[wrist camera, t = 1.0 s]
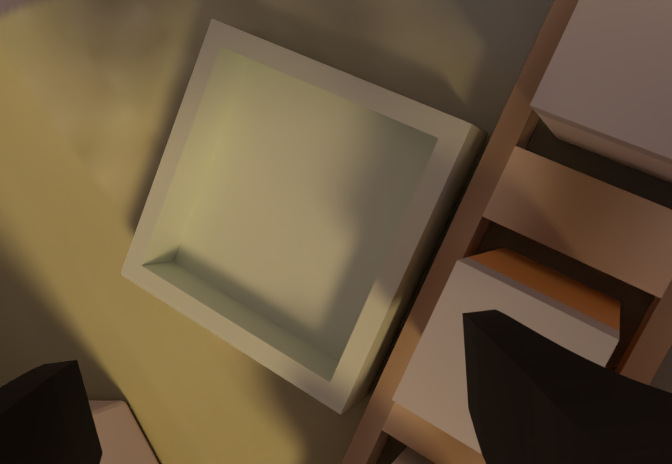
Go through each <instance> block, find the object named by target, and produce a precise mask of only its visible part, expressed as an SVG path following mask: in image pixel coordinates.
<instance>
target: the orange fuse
mask: <svg viewBox="0 0 672 464" xmlns="http://www.w3.org/2000/svg"><path fill="white" fill-rule="evenodd" d="M493 309H496V310H498V311H500V312H502V313H504V314H506V315H508V316H510V317H511V318H513V319H515V320H517V321H518V322H520V323H522V324H523V325H525V326H527V327H529V328H530V329H532V330H534V331H535V332H537V333H539V334H541V335H542V336H544V337H546V338H548V339H550V340H551V341H553V342H555V343H557V344H559V345H560V346H562V347H564V348H566V349H568V350H570V351H572V352H574V353H576V354H578V355H580V356H582V357H584V358H586V359H588V360H590V361H592V362H594V363H596V364H598V365H601V366H603V367H605V366H606V364H607V362H608V360H609V358H610V356H611V355H612V353H613V351H614V349H615V347H616V345H617V343H618V342H619V333H620V301H618V300H616V299H614V298H612V297H610V296H607V295H605V294H603V293H601V292H599V291H597V290H595V289H593V288H590V287H588V286H586V285H584V284H582V283H580V282H578V281H576V280H574V279H571V278H569V277H567V276H565V275H563V274H561V273H559V272H557V271H554V270H552V269H550V268H548V267H546V266H544V265H542V264H540V263H538V262H535V261H533V260H531V259H529V258H527V257H525V256H523V255H521V254H519V253H516V252H514V251H512V250H510V249H508V248H506V247H504V248H500V249H497V250H493V251H489V252H485V253H481V254H478V255H474V256H470V257H466V258H463V259H459V260H457V262H456V264H455V266H454V268H453V270H452V272H451V274H450V277H449V279H448V281H447V283H446V285H445V287H444V289H443V291H442V294H441V296H440V298H439V300H438V302H437V304H436V306H435V309H434V311H433V313H432V315H431V317H430V319H429V321H428V323H427V326H426V328H425V330H424V332H423V334H422V336H421V338H420V341H419V343H418V345H417V347H416V349H415V351H414V353H413V356H412V358H411V360H410V362H409V364H408V366H407V368H406V370H405V373H404V375H403V377H402V379H401V381H400V383H399V385H398V388H397V390H396V392H395V394H394V396H393V398H392V400H393V401H395V402H396V403H398V404H400V405H401V406H403V407H404V408H406V409H408V410H409V411H411V412H413V413H414V414H416V415H418V416H419V417H421V418H423V419H424V420H426V421H428V422H429V423H431V424H432V425H434V426H436V427H437V428H439V429H441V430H442V431H444V432H446V433H447V434H449V435H451V436H452V437H454V438H456V439H457V440H459V441H461V442H462V443H464V444H465V445H467V446H469V447H470V448H472V449H474V450H475V451H477V452H479V453H480V454H482V453H481V449H480V446H479V443H478V440H477V437H476V433H475V430H474V426H473V423H472V419H471V416H470V413H469V409H468V395H467V379H466V363H465V347H464V332H463V316H462V313H469V312H477V311H485V310H493Z"/></svg>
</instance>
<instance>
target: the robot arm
mask: <svg viewBox="0 0 672 464" xmlns="http://www.w3.org/2000/svg"><path fill="white" fill-rule="evenodd" d="M462 316H463V332H464V347H465V363H466V379H467V395H468V409H469V413H470V416H471V419H472V423H473V426H474V430H475V433H476V437H477V440H478V443H479V446H480V449H481V453H482V456H483V458H484V460H485V462H486V464H672V393H669V392H666V391H663V390H660V389H657V388H655V387H652V386H649V385H647V384H644V383H641V382H639V381H636V380H633V379H630V378H628V377H625V376H623V375H621V374H618V373H616V372H614V371H611V370H609V369H607V368H605V367H603V366H601V365H598V364H596V363H594V362H592V361H590V360H588V359H586V358H584V357H582V356H580V355H578V354H576V353H574V352H572V351H570V350H568V349H566V348H564V347H562V346H560V345H559V344H557V343H555V342H553V341H551V340H550V339H548V338H546V337H544V336H542V335H541V334H539V333H537V332H535V331H534V330H532V329H530V328H529V327H527V326H525V325H523V324H522V323H520V322H518V321H517V320H515V319H513V318H511V317H510V316H508V315H506V314H504V313H502V312H500V311H498V310H496V309H493V310H485V311H477V312H469V313H462ZM102 453H103V452H102V448H101V444H100V441H99V437H98V434H97V430H96V426H95V423H94V419H93V416H92V412H91V409H90V405H89V401H88V398H87V394H86V391H85V387H84V383H83V380H82V376H81V373H80V369H79V366H78V362H77V360H74V361H66V362H58V363H49V364H44V365H41V366H39V367H37V368H35V369H33V370H31V371H29V372H27V373H25V374H23V375H21V376H19V377H18V378H16V379H14V380H12V381H11V382H9V383H7V384H6V385H4V386H2V387H1V388H0V464H100V461H101V457H102Z"/></svg>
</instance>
